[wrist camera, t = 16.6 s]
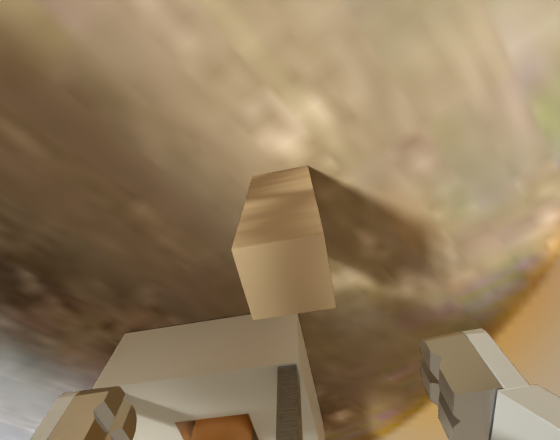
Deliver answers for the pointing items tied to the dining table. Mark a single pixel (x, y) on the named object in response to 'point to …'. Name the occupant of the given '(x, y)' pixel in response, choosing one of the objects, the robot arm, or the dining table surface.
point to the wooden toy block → (282, 247)
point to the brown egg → (224, 428)
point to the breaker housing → (211, 375)
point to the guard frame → (288, 404)
